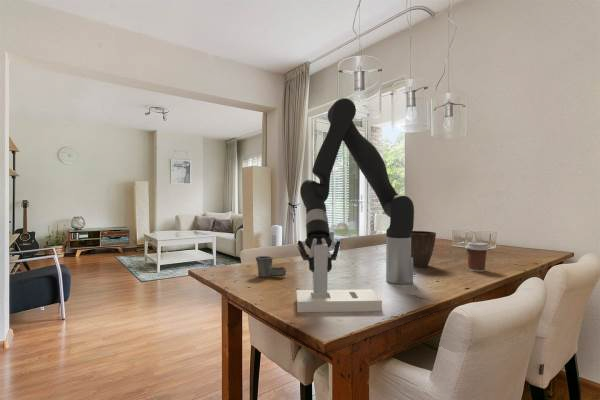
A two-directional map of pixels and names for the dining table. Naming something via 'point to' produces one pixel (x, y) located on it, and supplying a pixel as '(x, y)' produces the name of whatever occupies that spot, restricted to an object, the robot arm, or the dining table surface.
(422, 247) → the plant pot
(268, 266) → the pipe
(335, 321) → the dining table surface
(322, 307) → the socket plank
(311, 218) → the robot arm
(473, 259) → the coffee cup
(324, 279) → the gray square peg
